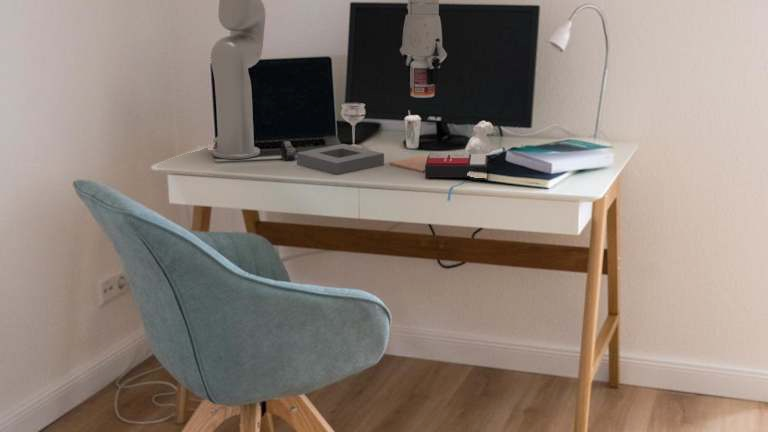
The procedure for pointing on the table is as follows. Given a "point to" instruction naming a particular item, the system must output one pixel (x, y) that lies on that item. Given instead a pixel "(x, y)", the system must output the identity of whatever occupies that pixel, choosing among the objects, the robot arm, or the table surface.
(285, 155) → the wristwatch
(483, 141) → the bust
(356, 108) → the wineglass
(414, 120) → the milkshake
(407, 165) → the tile
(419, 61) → the pill bottle
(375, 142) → the table surface
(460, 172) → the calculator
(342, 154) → the block
